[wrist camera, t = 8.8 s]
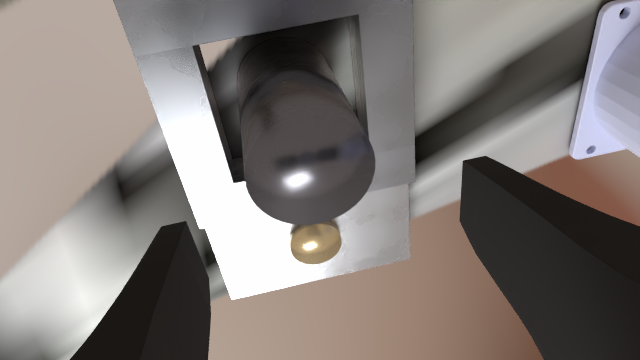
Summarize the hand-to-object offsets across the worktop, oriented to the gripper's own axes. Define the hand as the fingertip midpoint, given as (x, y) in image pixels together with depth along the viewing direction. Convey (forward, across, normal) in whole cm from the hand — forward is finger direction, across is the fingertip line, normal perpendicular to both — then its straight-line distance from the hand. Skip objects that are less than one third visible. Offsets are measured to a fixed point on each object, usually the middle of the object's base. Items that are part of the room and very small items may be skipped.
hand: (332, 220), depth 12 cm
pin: (+9, 0, 0) cm, 9 cm away
